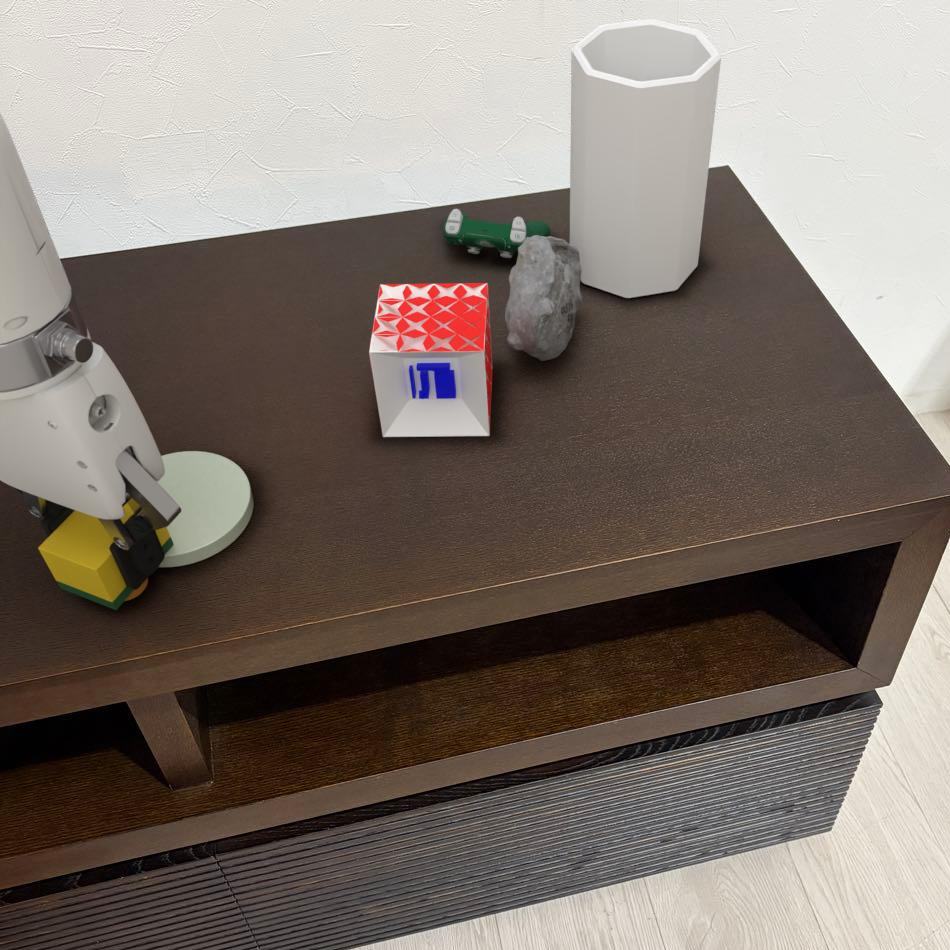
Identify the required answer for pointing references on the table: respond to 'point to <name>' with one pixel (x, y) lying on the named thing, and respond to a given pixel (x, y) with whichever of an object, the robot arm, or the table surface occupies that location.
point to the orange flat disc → (137, 591)
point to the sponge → (89, 559)
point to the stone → (543, 296)
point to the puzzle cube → (432, 359)
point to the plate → (204, 504)
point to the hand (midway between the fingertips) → (113, 558)
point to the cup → (640, 153)
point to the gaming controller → (490, 233)
